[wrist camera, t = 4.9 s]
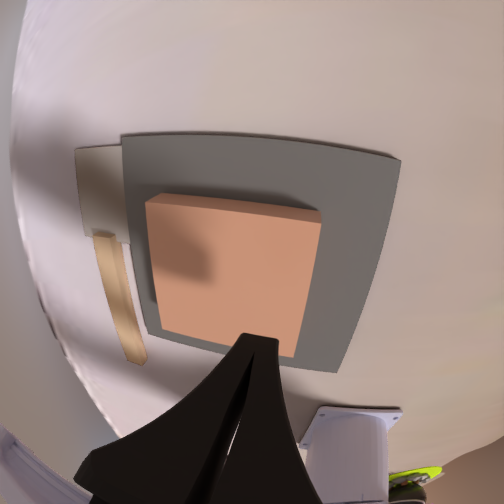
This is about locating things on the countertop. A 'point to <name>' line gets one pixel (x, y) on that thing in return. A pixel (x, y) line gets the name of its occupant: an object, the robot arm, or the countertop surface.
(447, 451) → the countertop surface
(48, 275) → the countertop surface
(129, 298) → the turner
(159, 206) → the tile
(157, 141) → the mat
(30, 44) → the countertop surface
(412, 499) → the toy cauldron
